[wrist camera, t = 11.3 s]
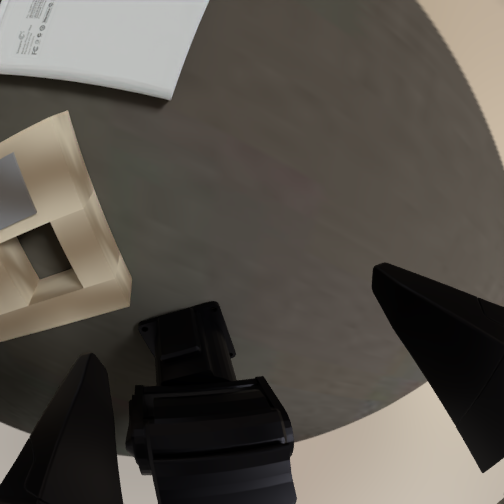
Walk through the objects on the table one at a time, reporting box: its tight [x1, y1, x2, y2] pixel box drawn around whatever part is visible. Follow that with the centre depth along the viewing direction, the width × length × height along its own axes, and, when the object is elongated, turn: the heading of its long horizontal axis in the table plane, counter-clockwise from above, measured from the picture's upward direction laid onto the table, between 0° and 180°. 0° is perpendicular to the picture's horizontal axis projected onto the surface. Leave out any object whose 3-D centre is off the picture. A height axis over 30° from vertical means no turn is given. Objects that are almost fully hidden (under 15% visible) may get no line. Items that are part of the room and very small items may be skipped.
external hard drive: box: [0, 0, 209, 100], centre depth 12 cm, size 2×8×12 cm
